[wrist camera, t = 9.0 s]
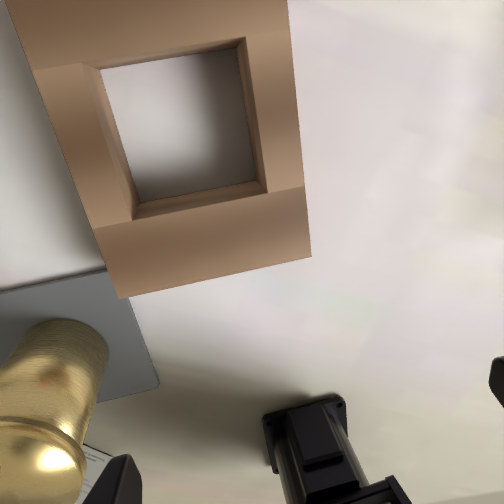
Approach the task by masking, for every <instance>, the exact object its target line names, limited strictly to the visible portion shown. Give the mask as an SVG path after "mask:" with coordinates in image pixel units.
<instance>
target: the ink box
mask: <svg viewBox="0 0 504 504" xmlns="http://www.w3.org/2000/svg"><path fill="white" fill-rule="evenodd" d="M81 449H82V450H83V452H84V454H85V457H86V462H87V470H86V474H85V477H84V481H83V484H82V488H81V492H80V495H79V497H78V499H77V501H76V502H75V503H74V504H82V503H83V501H84V500H85V498H86V496H87V495H88V493H89V492H90V490H91V489H92V487H93V485H94V484H95V482H96V481H97V479H98V478H99V476H100V474H101V473H102V471H103V470H104V468H105V466H106V465H107V463H108V462H109V461H110V460H111V459H112V458H113V457H111V456H108V455H106V454H103V453H101V452H99V451H96V450H94V449H91V448H89V447H87V446H85V445H82V447H81Z"/></svg>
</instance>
